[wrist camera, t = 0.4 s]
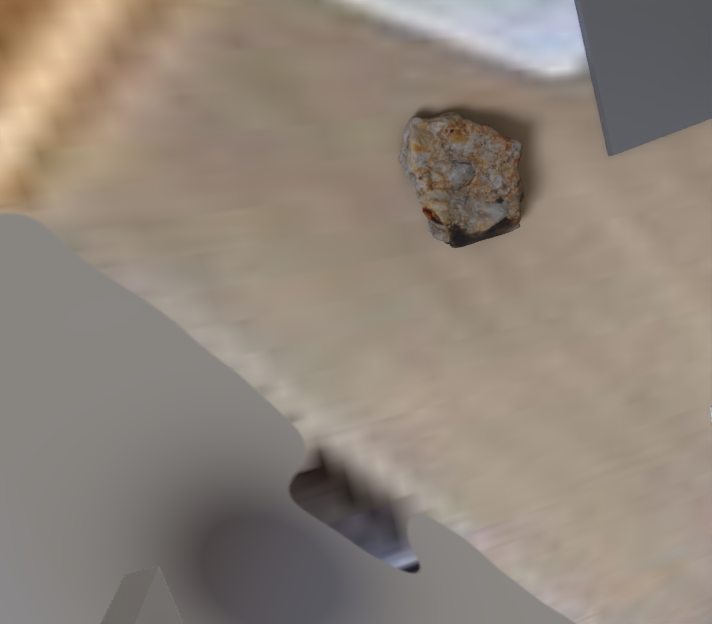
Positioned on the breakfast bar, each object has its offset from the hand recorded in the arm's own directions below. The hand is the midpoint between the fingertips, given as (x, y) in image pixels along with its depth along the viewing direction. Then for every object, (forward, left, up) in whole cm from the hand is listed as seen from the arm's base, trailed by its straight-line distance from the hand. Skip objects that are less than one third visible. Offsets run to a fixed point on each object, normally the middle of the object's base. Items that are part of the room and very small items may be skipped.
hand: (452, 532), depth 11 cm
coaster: (-10, +30, -27) cm, 42 cm away
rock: (-6, +11, -28) cm, 30 cm away
